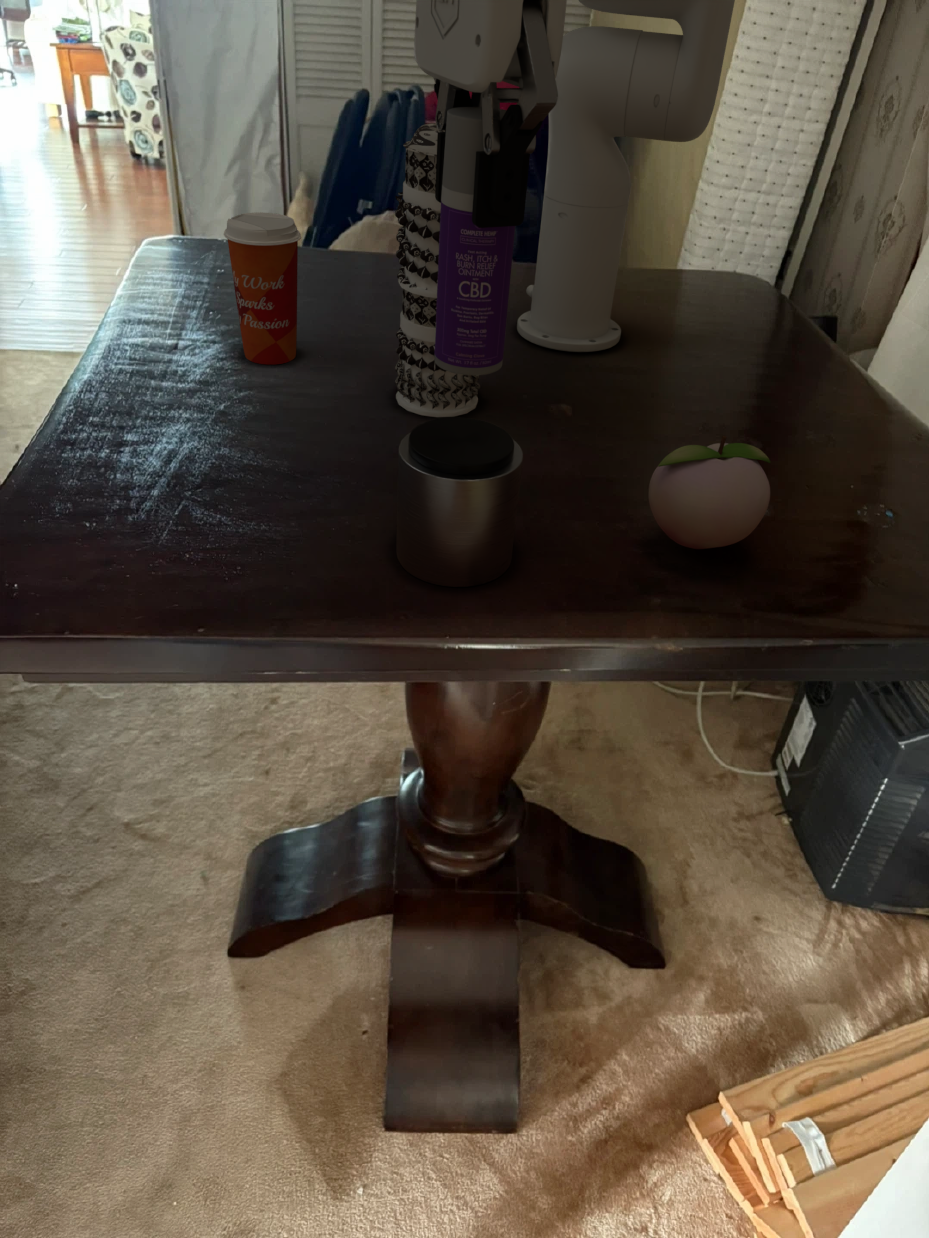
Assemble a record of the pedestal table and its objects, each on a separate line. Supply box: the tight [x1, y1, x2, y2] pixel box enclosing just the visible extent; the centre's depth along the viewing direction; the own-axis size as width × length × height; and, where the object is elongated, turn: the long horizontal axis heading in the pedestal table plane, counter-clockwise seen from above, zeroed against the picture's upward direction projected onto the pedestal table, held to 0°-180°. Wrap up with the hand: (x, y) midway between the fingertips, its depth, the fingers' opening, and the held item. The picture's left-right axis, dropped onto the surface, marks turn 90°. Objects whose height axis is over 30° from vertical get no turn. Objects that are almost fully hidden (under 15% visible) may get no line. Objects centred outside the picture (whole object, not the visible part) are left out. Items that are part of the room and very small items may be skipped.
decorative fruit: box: [647, 434, 771, 550], centre depth 71 cm, size 9×8×10 cm
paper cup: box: [223, 211, 302, 366], centre depth 97 cm, size 8×8×14 cm
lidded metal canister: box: [395, 416, 524, 588], centre depth 69 cm, size 9×9×10 cm
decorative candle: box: [394, 122, 481, 418], centre depth 87 cm, size 9×9×25 cm
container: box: [434, 107, 516, 376], centre depth 58 cm, size 5×5×15 cm
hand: (478, 210), depth 57 cm, fingers closed on container, 4 cm apart
